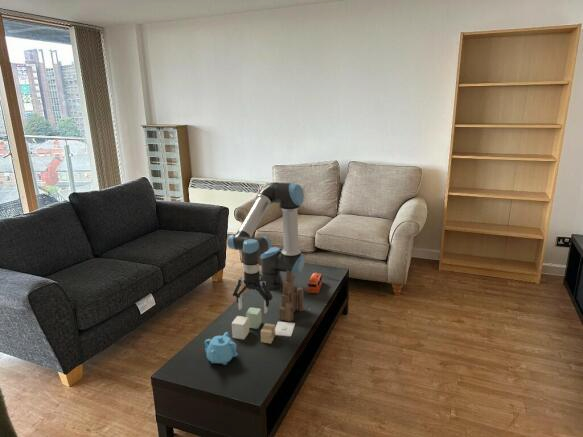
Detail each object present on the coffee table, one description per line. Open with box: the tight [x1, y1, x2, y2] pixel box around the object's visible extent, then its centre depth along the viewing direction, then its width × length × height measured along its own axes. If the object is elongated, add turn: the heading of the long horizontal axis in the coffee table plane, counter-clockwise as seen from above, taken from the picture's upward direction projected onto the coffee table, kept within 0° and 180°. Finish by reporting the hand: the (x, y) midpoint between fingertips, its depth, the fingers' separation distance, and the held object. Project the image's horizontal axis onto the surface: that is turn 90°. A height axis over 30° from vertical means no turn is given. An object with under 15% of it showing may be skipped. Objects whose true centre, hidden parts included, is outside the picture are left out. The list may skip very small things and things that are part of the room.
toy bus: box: [306, 272, 324, 295], centre depth 244 cm, size 7×18×7 cm, turn 166°
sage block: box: [245, 307, 262, 330], centre depth 204 cm, size 6×6×8 cm
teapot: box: [204, 331, 239, 366], centre depth 176 cm, size 13×14×11 cm
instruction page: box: [275, 321, 296, 337], centre depth 201 cm, size 12×9×1 cm
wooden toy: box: [278, 270, 304, 323], centre depth 212 cm, size 16×7×25 cm, turn 150°
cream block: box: [231, 315, 250, 340], centre depth 196 cm, size 7×6×8 cm
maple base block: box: [260, 322, 277, 344], centre depth 192 cm, size 7×5×6 cm
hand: (253, 310), depth 203 cm, fingers open, 13 cm apart
